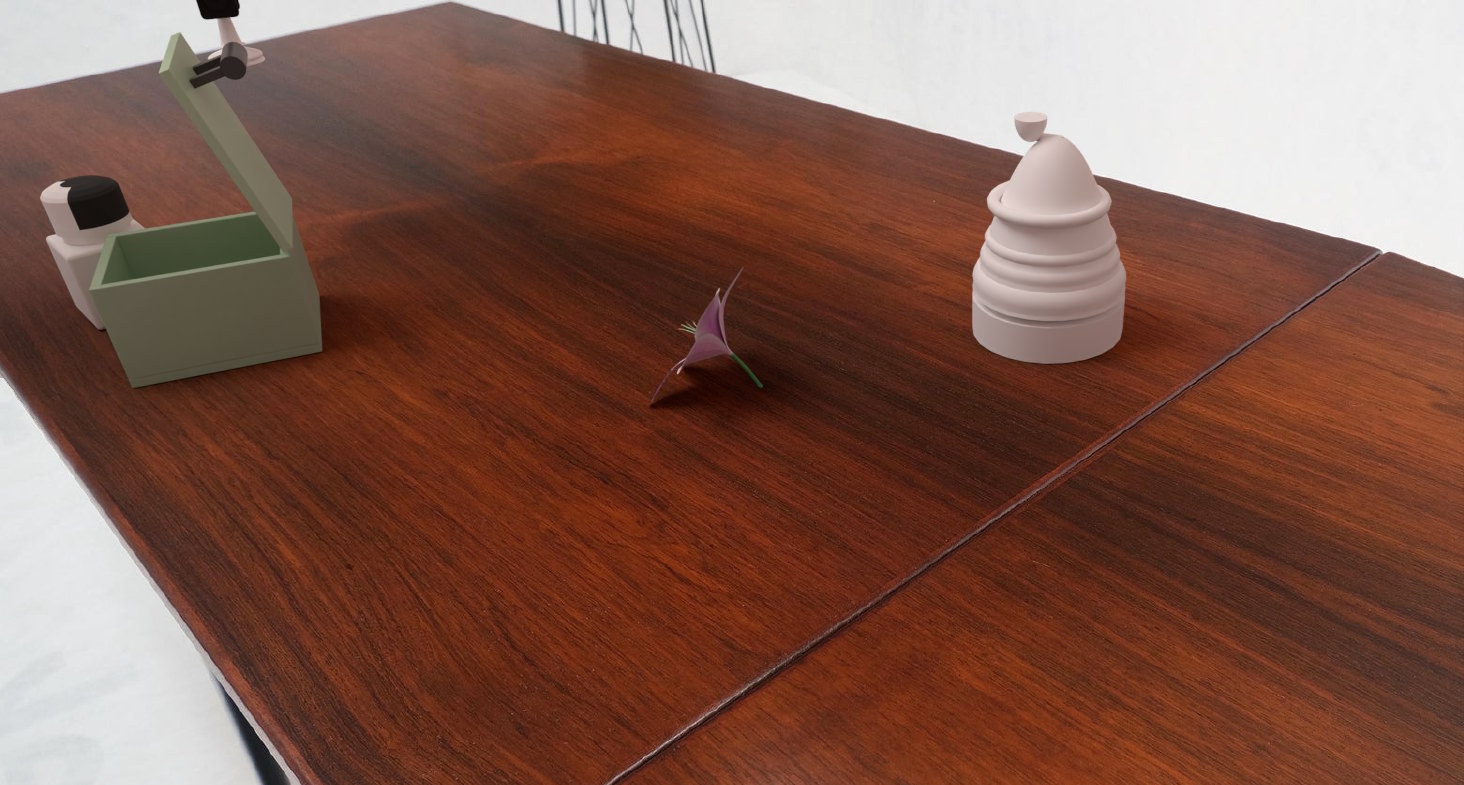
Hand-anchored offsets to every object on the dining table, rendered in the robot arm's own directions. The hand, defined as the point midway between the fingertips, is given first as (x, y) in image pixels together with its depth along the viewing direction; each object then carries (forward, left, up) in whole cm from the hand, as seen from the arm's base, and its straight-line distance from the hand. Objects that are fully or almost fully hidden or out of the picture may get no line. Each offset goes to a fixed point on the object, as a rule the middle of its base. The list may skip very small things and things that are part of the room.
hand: (221, 13), depth 113 cm
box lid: (0, -24, -6) cm, 24 cm away
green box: (-5, -24, -22) cm, 33 cm away
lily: (+31, -51, -22) cm, 63 cm away
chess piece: (0, 0, -5) cm, 5 cm away
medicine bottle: (-14, -12, -22) cm, 29 cm away
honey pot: (+60, -54, -22) cm, 83 cm away
